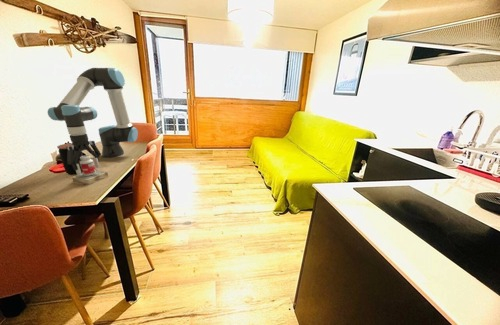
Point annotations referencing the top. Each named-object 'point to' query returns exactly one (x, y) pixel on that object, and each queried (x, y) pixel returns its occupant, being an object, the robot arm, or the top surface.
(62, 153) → the coffee jar
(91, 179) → the banknote stack
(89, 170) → the pill bottle
